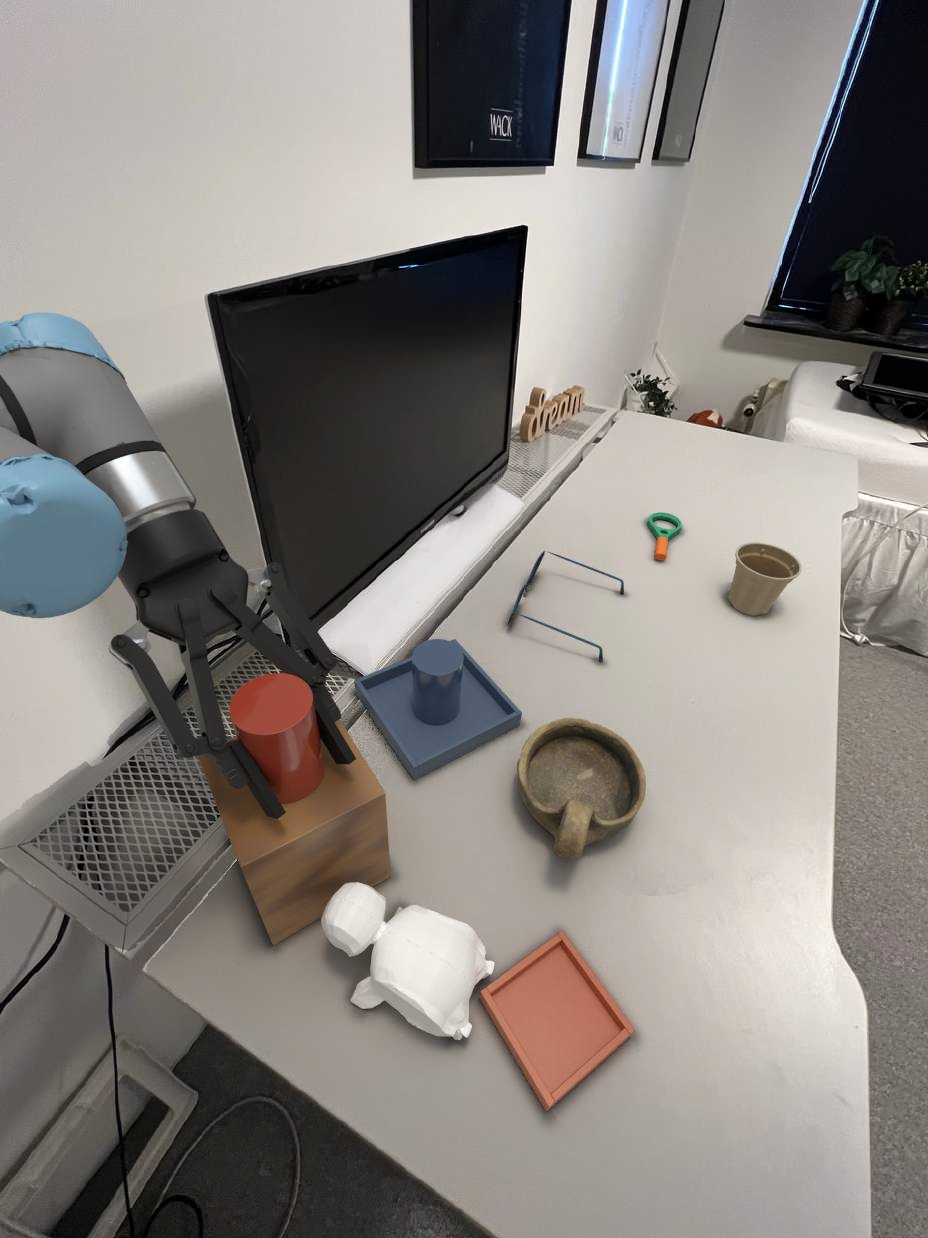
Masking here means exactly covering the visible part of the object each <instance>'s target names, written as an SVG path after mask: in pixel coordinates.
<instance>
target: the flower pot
mask: <svg viewBox="0 0 928 1238" xmlns="http://www.w3.org/2000/svg"><path fill="white" fill-rule="evenodd" d="M734 556H735V569H734V572H733V573H734V574H733V577H732V581H731V586H730V590H729V593H728V602H729V603H730V604H731V605H732V606H733V608H734V610H737V611H738V612H740V613H742V614H745V615H749V616H754V617H755V616H758V615H765V614H767V613H769V611H770V609H771V608H772V606H773V605H774V604H775V602H776V601H777V600H778V598H779V597H780V595H781V594H782V593H783V592H784V590H785V589H786V587H787V586H788V585H789V584H790V583H791V582H793V580H794V579H796V578H798V576H800V575H801V573H802V570H803V568H802V567H803V566H802V563H801V562H800V561H799V559H798V558H797V557H796V556H795V555H793V554H792V553H791V552H789V551H788V550H786V549H784V548H782V547H780V546H776V545H774V544H770V543H765V542H756V541H755V542H747V543H746V542H745V543H742V544H741V545H739V546H738V547H737V548H736V550H735V554H734Z"/></svg>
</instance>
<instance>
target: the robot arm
mask: <svg viewBox="0 0 928 1238" xmlns="http://www.w3.org/2000/svg"><path fill="white" fill-rule="evenodd" d="M196 505H197V498H196V496H195V494H194V493H193V491H192V490H191V488H190V486H189V485H188V483H187V481H186V480H185V479H184V477H183V476H182V473H181V471H179V469H178V467H177V465H176V464H175V463H174V461H173V459H172V457H171V456H170V454H168V452H167V450H166V448H165V446H163V443H162V442H161V440H160V438H159V437H158V435H157V433H156V432H155V430H154V428H153V426H152V425H151V423H150V421H149V420H148V418H147V416H146V415H145V413H144V411H143V410H142V408H141V406H140V404H139V403H138V401H137V398H135V396H134V394H133V392H132V391H131V389H130V387H129V385H128V383H127V381H126V378H125V375H124V373H123V372H122V371H121V370H120V368H119V367H118V366H117V365H116V364H115V362H114V361H113V359H112V358H111V357H110V355H109V354H108V352H107V350H106V349H105V348H104V346H103V345H102V343H101V342H100V341H99V340H98V338H97V337H96V336H95V334H94V333H93V332H92V331H91V330H90V329H89V328H88V327H87V326H86V325H85V324H84V323H82V322H81V321H79V320H78V319H76V318H73V317H72V316H68V315H64V314H61V313H55V312H32V313H31V312H30V313H25V314H23V315H22V316H21V317H20V318H19V319H16V320H4V321H2V322H0V612H3V613H6V614H9V615H12V616H16V617H23V618H30V619H50V618H56V617H61V616H63V615H67V614H70V613H73V612H76V611H77V610H80V609H82V608H84V607H85V606H87V605H89V604H91V603H92V602H94V601H95V600H97V599H98V598H100V597H101V596H102V595H104V593H106V591H107V590H108V589H109V588H110V587H111V586H112V585H113V583H115V581H116V579H117V578H118V579H119V581H120V582H121V585H122V586H123V587H124V589H125V590H126V592H127V593H128V595H129V597H130V598H131V600H132V602H133V604H134V605H135V611H136V613H135V618H136V622H134V623H133V624H132V625H131V626H130V627H128V628H127V629H126V630H125V631H123V633H120V634H117V635H115V636H113V637H112V638H111V640H110V643H109V645H108V652H109V653H110V654H111V655H112V657H113V658H115V659H116V660H118V661H119V662H120V663H121V664H123V665H124V667H126V668H127V669H128V670H129V671H130V672H131V675H132V677H133V678H134V680H135V681H136V683H137V685H138V687H139V688H140V691H141V693H142V694H143V696H144V698H145V700H146V701H147V703H148V705H149V707H150V709H151V711H152V712H153V715H154V717H155V718H156V719H157V722H158V723H159V725H160V727H161V729H162V730H163V733H164V735H165V737H166V738H167V740H168V741H169V744H170V745H171V747H172V749H173V751H174V753H175V754H176V755H177V757H179V758H181V759H183V758H184V759H187V758H188V759H189V758H191V759H192V758H194V757H197V756H198V755H202V754H208V755H210V756H211V757H212V758H213V760H214V762H215V763H216V765H217V766H218V768H219V769H220V771H221V772H222V774H223V776H224V777H225V779H226V780H227V782H228V783H229V785H231V786H232V787H234V788H237V789H240V788H242V787H243V786H245V785H246V784H247V785H248V787H249V789H250V790H251V792H252V793H253V795H254V796H255V798H256V800H257V801H258V803H259V804H260V806H261V807H262V809H263V811H264V812H265V814H266V815H267V816H268V817H272V818H275V819H278V818H280V817H281V816H282V815H284V814H285V813H286V811H285V810H284V808H283V807H282V805H281V803H280V802H279V800H278V799H277V797H276V795H275V794H274V792H273V791H272V789H271V788H270V786H269V784H268V783H267V781H266V780H265V778H264V776H263V775H262V773H261V772H260V770H259V768H258V767H257V765H256V764H255V762H254V761H253V759H252V757H251V756H250V754H249V753H248V751H247V749H246V748H245V746H244V745H243V743H242V742H241V740H240V739H238V740H231V741H229V742H227V740H228V738H227V734H226V729H225V725H224V721H223V717H222V712H221V709H220V708H221V707H220V704H219V699H218V696H217V693H216V688H215V683H214V680H213V676H212V675H213V674H212V672H211V667H210V663H209V659H208V648H207V644H209V643H210V642H211V641H213V640H214V639H216V637H219V636H222V635H226V634H228V633H230V632H232V633H234V634H235V635H237V636H238V637H239V638H242V639H243V640H245V641H246V643H248V644H249V645H251V646H252V647H253V648H254V649H255V650H256V651H258V652H259V654H261V655H262V656H263V657H264V658H265V659H267V661H269V662H270V663H271V664H272V665H274V666H275V668H277V669H278V670H279V671H280V672H281V673H286V674H291V675H294V676H297V677H299V678H301V679H302V680H304V681H305V682H306V683H307V684H308V685H309V687H310V689H311V691H312V694H313V699H314V705H315V711H316V716H317V722H318V728H319V733H320V738H321V740H322V741H323V743H324V745H325V746H326V748H327V750H328V751H329V753H330V754H331V756H332V758H333V759H334V761H335V763H336V764H350V763H352V762H353V761H354V760H356V757H355V755H354V754H353V752H352V751H351V749H350V747H349V746H348V744H347V742H346V741H345V739H344V737H343V736H342V734H341V732H340V731H339V729H338V727H337V726H336V724H335V722H336V721H337V720H339V719H340V720H341V719H342V713H341V710H340V708H339V706H338V705H337V703H336V701H335V700H334V698H333V697H332V695H331V693H330V691H329V690H328V688H327V685H326V683H327V680H328V679H327V678H328V677H327V676H328V675H329V674H330V672H331V671H332V670H333V669H334V668H335V667H336V666H337V665H338V662H337V659H336V657H335V655H334V654H333V652H332V651H331V649H330V648H329V646H328V645H327V643H326V642H325V641H324V639H323V637H322V636H321V634H320V633H319V631H318V630H317V629H316V627H315V626H314V624H313V623H312V621H311V620H310V619H309V617H308V615H307V614H306V613H305V611H304V610H303V608H302V607H301V605H300V604H299V602H298V601H297V599H296V598H295V597H294V595H293V594H292V592H291V591H290V589H289V588H288V584H287V580H286V576H285V574H284V570H283V567H282V565H281V564H280V563H278V562H276V561H272V562H270V563H268V564H267V566H266V565H265V566H264V567H256V568H251V569H246V568H244V567H243V566H242V565H241V564H239V563H238V562H236V561H235V560H234V559H233V558H232V557H231V555H230V554H229V552H228V550H227V548H226V546H225V545H224V543H223V541H222V540H221V538H220V536H219V534H218V533H217V531H216V529H215V528H214V526H213V525H212V523H211V521H210V519H209V518H208V516H207V515H206V513H205V512H204V511H202V510H199V509H196V508H195V507H196ZM249 586H251V587H253V588H254V590H255V592H256V593H257V594H258V595H261V596H264V598H265V600H266V603H267V605H268V606H269V608H270V609H271V611H272V612H273V613H274V615H275V616H276V618H277V619H278V620H279V622H280V623H281V624H282V626H283V628H284V629H285V631H286V632H287V634H288V635H289V636H290V638H291V640H293V642H294V643H295V645H296V647H297V648H298V649H299V651H300V652H301V653H302V655H303V657H304V658H305V659H304V658H303V657H302V656H301V655H300V654H299V653H298V652H297V651H295V650H294V649H293V648H292V647H291V646H290V645H289V644H288V643H286V642H285V641H284V640H283V639H282V638H280V636H278V634H276V633H275V632H274V631H273V630H272V629H271V628H269V627H268V626H267V625H266V624H265V623H264V622H263V619H262V618H261V617H260V616H259V614H258V613H256V612H255V611H254V610H253V609H251V608H250V607H249V606H248V604H247V603H248V601H247V600H248V593H249ZM148 633H151V634H153V635H156V636H158V637H161V638H163V639H166V640H168V641H170V642H172V643H174V644H177V647H178V651H179V656H180V661H181V662H182V665H183V667H184V671H185V676H186V680H187V683H188V688H189V692H190V696H191V700H192V701H191V702H192V705H193V708H194V713H195V717H196V721H197V725H198V729H199V735H200V736H198V737H195V736H194V734H193V732H192V729H191V728H190V726H189V723H188V722H187V721H186V719H185V717H184V715H183V714H182V711H181V709H180V707H179V706H178V704H177V702H176V700H175V699H174V697H173V695H172V693H171V691H170V689H169V688H168V686H167V684H166V682H165V680H164V678H163V676H162V675H161V673H160V671H159V669H158V667H157V665H156V663H155V662H154V660H153V659H152V657H151V656H150V654H149V652H150V650H151V642H150V641H149V639H148Z"/></svg>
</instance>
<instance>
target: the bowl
mask: <svg viewBox="0 0 928 1238" xmlns="http://www.w3.org/2000/svg"><path fill="white" fill-rule="evenodd" d="M516 773H517V784H518V791H519V795H520V797H521V800H522V802H523V804H524V805H525V808H526V809H527V810H528V812H529V814H530V815H531V816H532V817H533V819H535V821H537V823H538V824H539V825H540V826H541V827H543V828H544V829H545V830H546V831H548V832H549V833H550V834H551V835H552V836H553V838H554V843H553V852H554V854H556V855H557V856H559V857H563V858H565V859H570V860H574V861H577V860H579V859H580V858H581V856H582V854H583V850H584V848H585V847H586V845H589V844H591V843H595V842H600V841H604V840H606V839H609V838H612V837H615V836H616V835H619V834H620V833H622V832H623V831H625V830H626V829H627V828H628V827H629V825H631V823H632V821H633V820H634V818H635V816H636V815H637V814H638V813H639V811H640V809H641V807H642V805H643V804H644V801H645V797H646V792H647V778H646V774H645V769H644V767H643V764H642V763H641V760H640V758H639V757H638V755H637V753H635V750H634V749H633V747H632V746H631V745H630V743H629V742H628V741H627V740H626V739H625V738H623V737H622V736H620V735H619V734H618V733H617V732H615V731H613V730H611V729H610V728H607V727H605V726H603V725H601V724H598V723H596V722H591V721H589V720H588V719H584V718H580V717H579V718H576V717H564V718H559V719H556V720H553V721H550V722H548V723H546V724H543V725H542V726H540V727H538V728H537V729H536V730H534V732H533V733H531V734H530V735H529V736H528V738H526V739H525V742H524V743H523V746H522V749H521V753H520V757H519V758H518V760H517V762H516Z"/></svg>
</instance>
